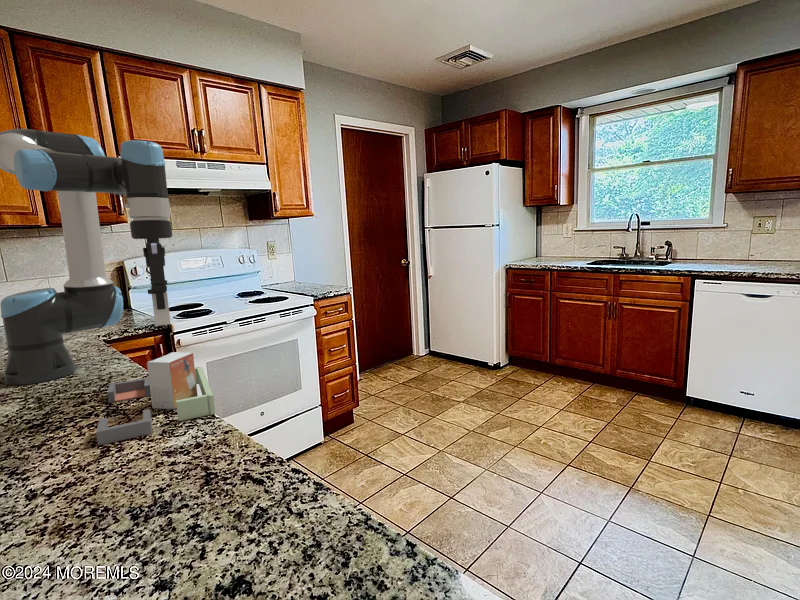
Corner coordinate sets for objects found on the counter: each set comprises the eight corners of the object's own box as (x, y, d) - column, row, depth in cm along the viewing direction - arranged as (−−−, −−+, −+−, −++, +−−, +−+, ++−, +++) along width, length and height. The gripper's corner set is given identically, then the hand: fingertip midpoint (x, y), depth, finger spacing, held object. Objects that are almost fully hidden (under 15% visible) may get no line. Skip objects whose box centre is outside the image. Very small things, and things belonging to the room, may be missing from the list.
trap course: (111, 394, 103) (108, 378, 103) (202, 377, 113) (200, 363, 112) (98, 445, 78) (94, 424, 77) (217, 418, 87) (215, 400, 87)
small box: (174, 410, 93) (168, 362, 91) (151, 408, 94) (145, 361, 92) (198, 396, 100) (193, 352, 99) (177, 395, 101) (172, 351, 100)
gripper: (131, 221, 100) (142, 312, 103) (126, 218, 78) (141, 332, 82) (168, 220, 103) (177, 308, 107) (173, 217, 82) (185, 327, 85)
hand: (162, 319), depth 94 cm, fingers open, 13 cm apart
